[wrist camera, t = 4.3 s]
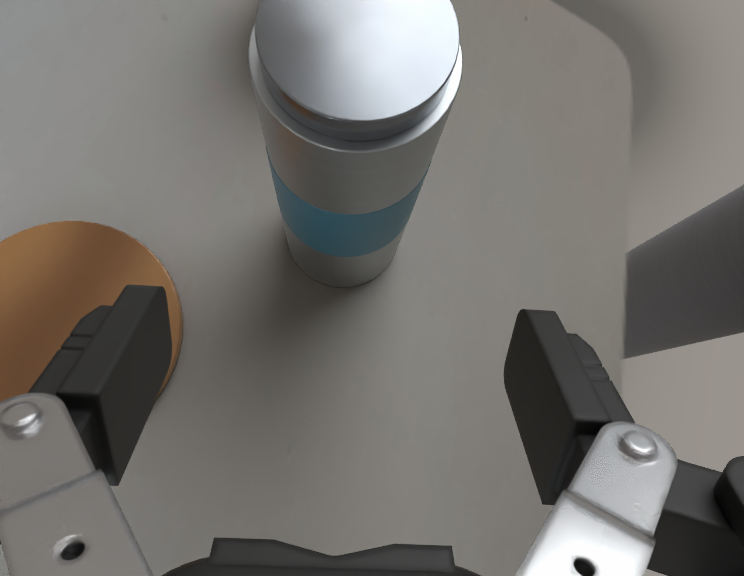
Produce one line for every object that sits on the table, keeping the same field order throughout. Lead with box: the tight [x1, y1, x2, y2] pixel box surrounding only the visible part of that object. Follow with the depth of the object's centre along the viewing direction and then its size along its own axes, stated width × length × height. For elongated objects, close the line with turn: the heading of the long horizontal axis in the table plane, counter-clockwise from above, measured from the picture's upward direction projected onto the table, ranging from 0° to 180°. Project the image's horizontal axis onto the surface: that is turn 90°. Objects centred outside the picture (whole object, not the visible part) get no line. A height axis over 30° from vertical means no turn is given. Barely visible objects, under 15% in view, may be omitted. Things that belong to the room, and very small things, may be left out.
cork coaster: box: [0, 221, 183, 402], centre depth 28 cm, size 11×11×1 cm
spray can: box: [248, 0, 463, 287], centre depth 22 cm, size 6×6×16 cm
